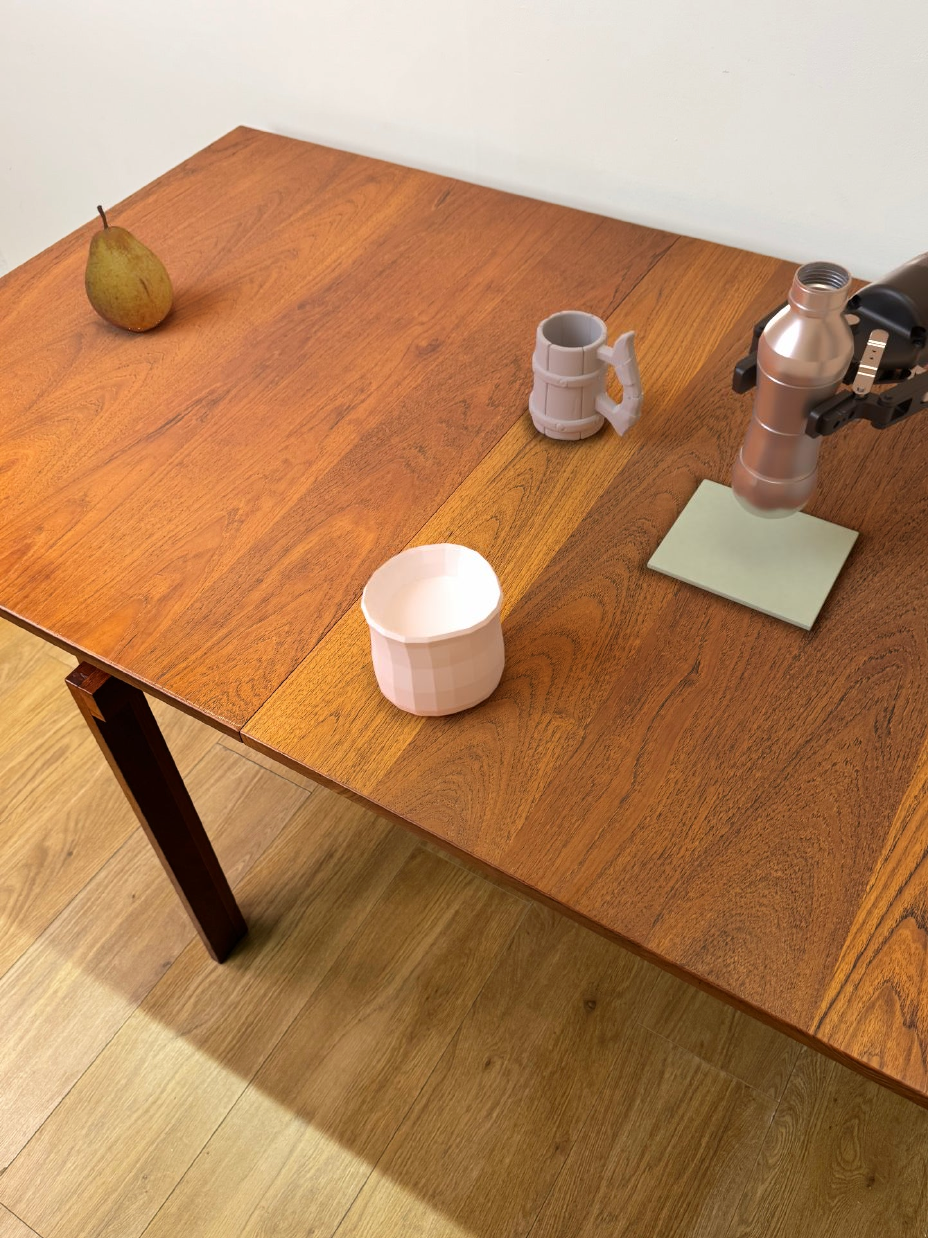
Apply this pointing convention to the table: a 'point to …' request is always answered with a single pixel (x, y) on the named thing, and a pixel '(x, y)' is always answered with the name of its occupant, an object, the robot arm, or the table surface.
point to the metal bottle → (794, 392)
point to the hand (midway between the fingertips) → (773, 403)
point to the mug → (582, 378)
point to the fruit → (126, 280)
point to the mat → (754, 555)
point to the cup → (435, 629)
